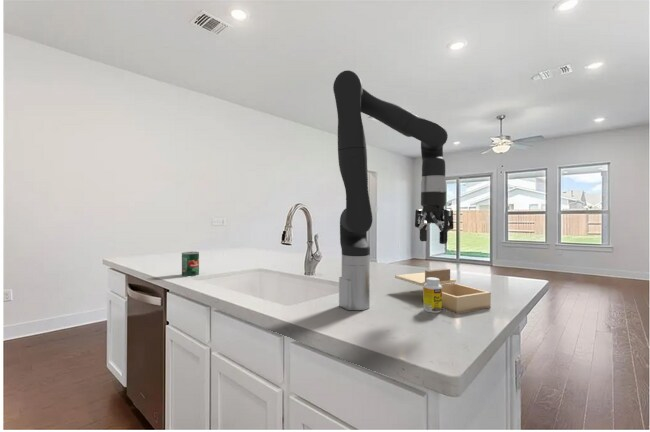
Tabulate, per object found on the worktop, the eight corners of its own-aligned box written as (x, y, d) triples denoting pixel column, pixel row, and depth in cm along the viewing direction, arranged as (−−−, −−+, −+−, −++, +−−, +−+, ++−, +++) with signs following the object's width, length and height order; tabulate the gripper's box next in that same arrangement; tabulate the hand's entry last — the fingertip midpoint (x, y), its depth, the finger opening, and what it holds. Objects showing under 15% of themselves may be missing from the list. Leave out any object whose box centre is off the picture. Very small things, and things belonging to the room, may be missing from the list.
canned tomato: (195, 276, 155) (195, 253, 155) (178, 276, 155) (178, 253, 155) (201, 273, 163) (201, 251, 163) (186, 273, 163) (185, 251, 163)
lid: (422, 286, 113) (422, 272, 113) (395, 277, 127) (395, 265, 127) (455, 282, 120) (455, 268, 120) (426, 274, 134) (426, 262, 134)
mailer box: (456, 313, 100) (456, 297, 100) (422, 301, 114) (422, 287, 113) (490, 307, 106) (490, 292, 106) (454, 296, 120) (454, 283, 120)
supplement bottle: (434, 314, 99) (434, 281, 99) (419, 309, 104) (419, 278, 104) (445, 311, 102) (446, 279, 102) (431, 307, 107) (431, 276, 107)
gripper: (409, 191, 107) (408, 241, 108) (441, 189, 94) (440, 245, 95) (426, 192, 110) (426, 240, 111) (460, 190, 98) (459, 244, 98)
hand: (432, 242), depth 103 cm, fingers open, 8 cm apart
